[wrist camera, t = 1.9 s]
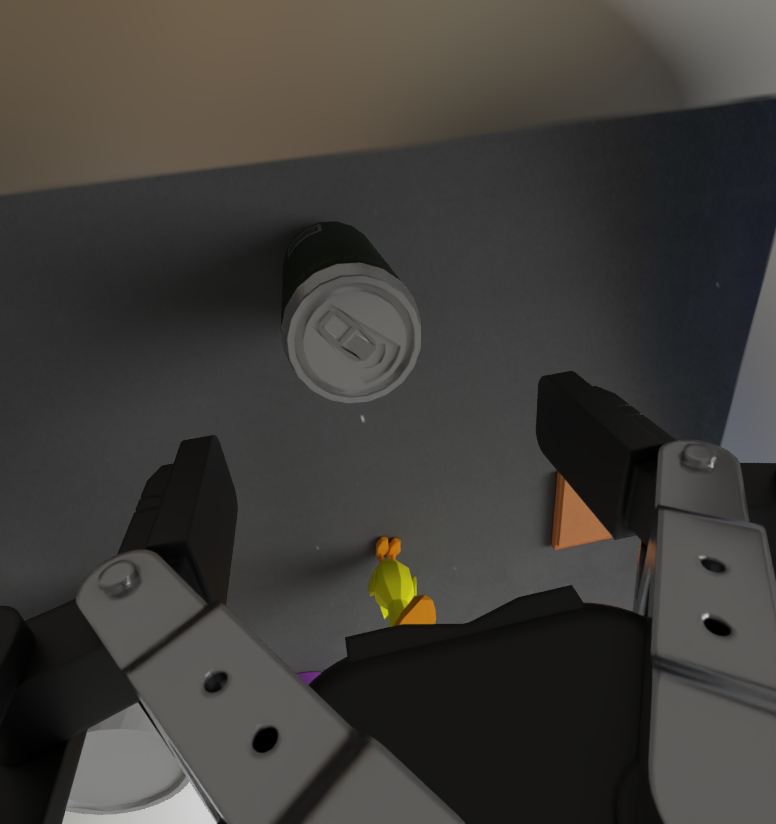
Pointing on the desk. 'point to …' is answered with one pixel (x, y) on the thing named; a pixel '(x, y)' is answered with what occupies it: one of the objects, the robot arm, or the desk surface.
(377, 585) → the toy figure
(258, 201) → the desk surface
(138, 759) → the disposable coffee cup
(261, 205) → the desk surface
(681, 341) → the desk surface
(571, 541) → the orange square panel
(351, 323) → the beer can
